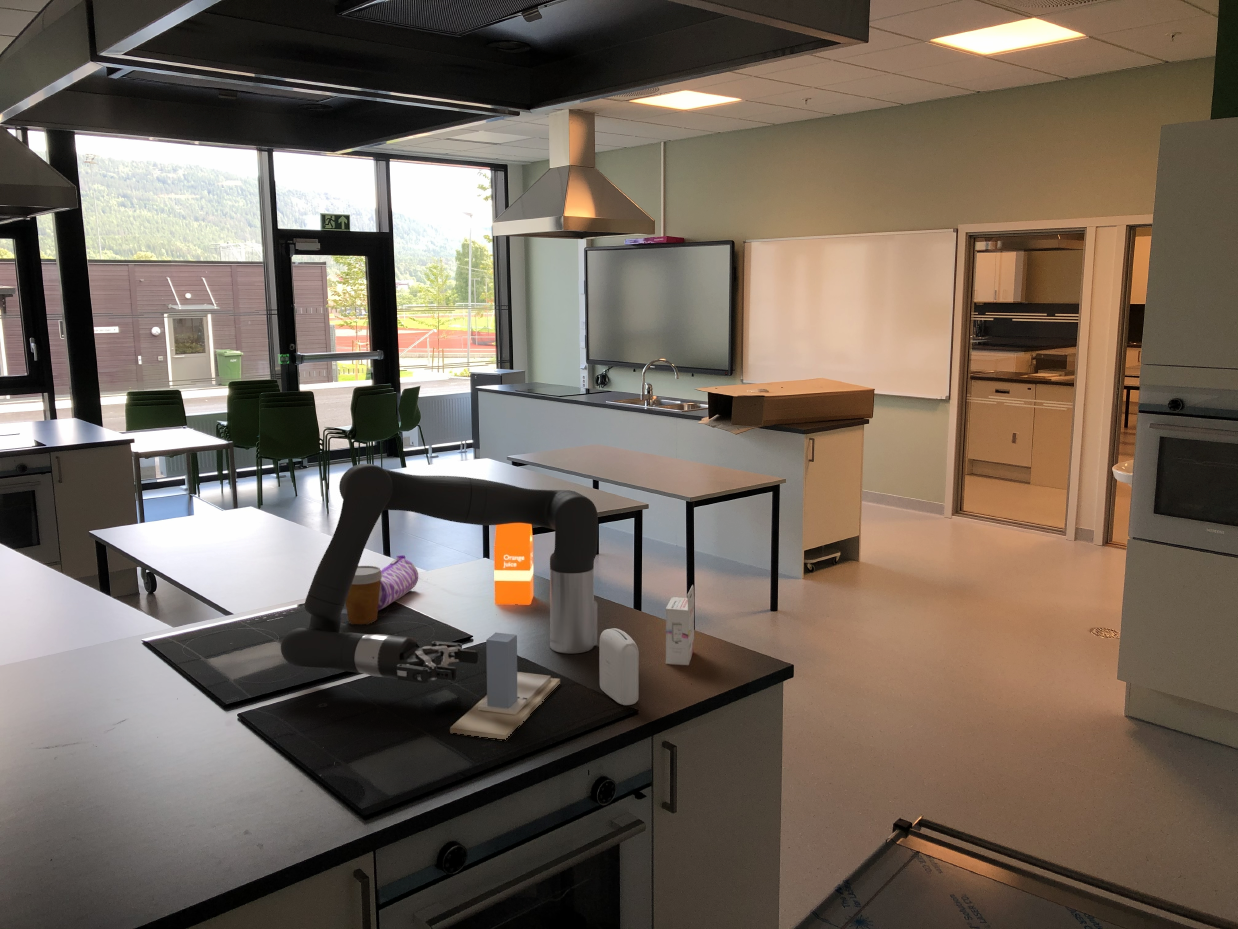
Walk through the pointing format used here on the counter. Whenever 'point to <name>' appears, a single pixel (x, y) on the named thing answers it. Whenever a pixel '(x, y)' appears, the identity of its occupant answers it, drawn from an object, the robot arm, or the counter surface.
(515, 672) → the panel
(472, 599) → the counter surface
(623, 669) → the photo printer
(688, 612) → the ink cartridge box
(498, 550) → the orange juice
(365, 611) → the disposable coffee cup
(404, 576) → the pencil case
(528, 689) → the perforated strip board
